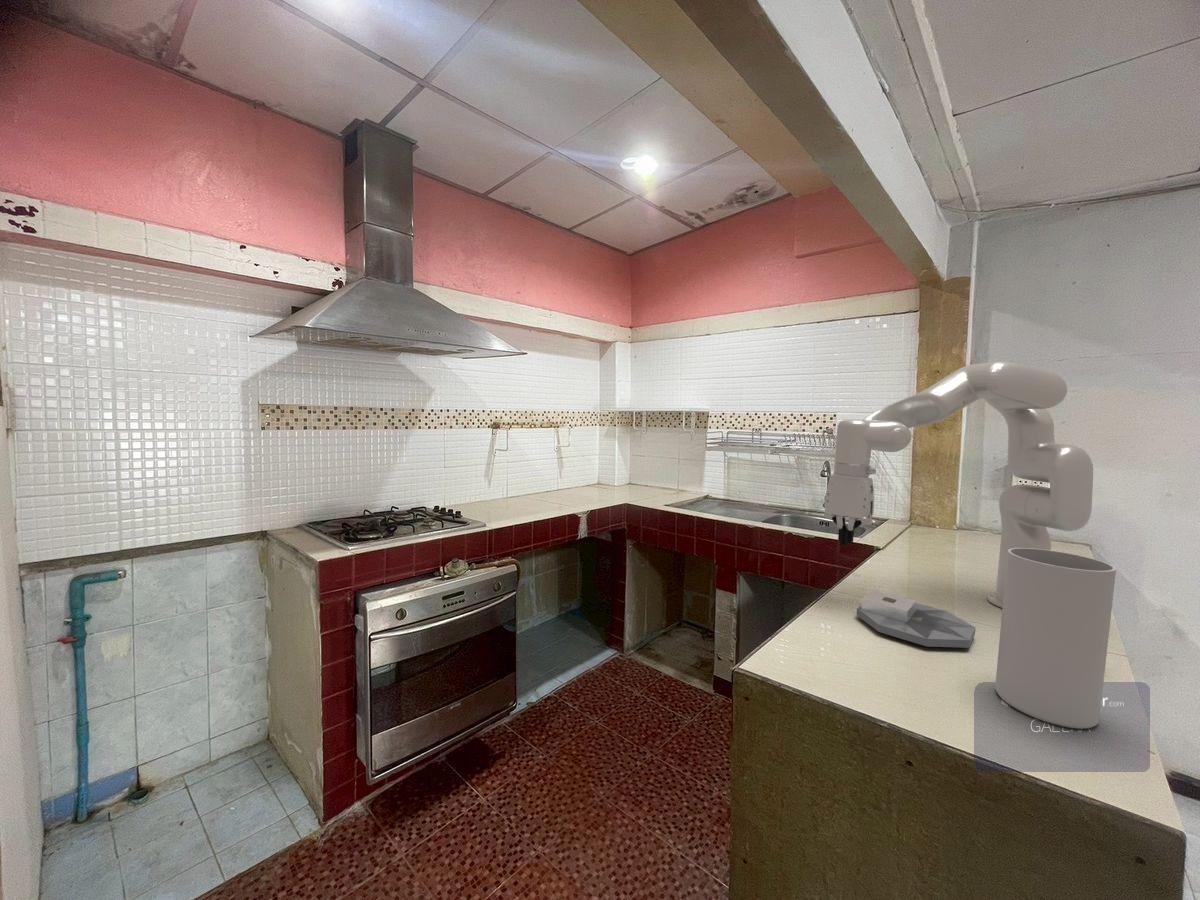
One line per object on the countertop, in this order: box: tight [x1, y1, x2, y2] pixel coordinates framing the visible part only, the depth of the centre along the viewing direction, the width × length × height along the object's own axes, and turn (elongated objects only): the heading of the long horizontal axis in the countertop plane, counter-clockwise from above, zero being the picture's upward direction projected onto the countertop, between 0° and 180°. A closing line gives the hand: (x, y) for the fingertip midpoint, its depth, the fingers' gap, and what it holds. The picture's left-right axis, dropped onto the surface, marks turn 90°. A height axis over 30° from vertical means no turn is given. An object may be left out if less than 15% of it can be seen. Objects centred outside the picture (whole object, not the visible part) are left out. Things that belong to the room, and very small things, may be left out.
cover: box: [861, 589, 918, 622], centre depth 109 cm, size 9×9×3 cm
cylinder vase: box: [994, 548, 1117, 730], centre depth 77 cm, size 12×12×25 cm
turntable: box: [856, 602, 977, 649], centre depth 106 cm, size 21×21×2 cm
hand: (845, 544), depth 115 cm, fingers closed
